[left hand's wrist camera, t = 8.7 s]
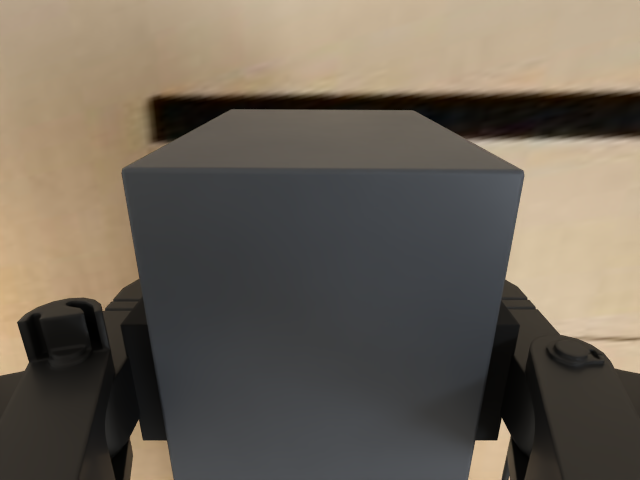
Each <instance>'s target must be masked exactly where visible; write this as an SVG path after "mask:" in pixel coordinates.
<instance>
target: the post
mask: <svg viewBox="0 0 640 480" xmlns="http://www.w3.org/2000/svg"><path fill="white" fill-rule="evenodd" d="M122 178H123V184H124V190H125V196H126V202H127V208H128V214H129V219H130V225H131V231H132V237H133V243H134V249H135V255H136V261H137V266H138V272H139V278H140V284H141V290H142V296H143V302H144V308H145V313H146V319H147V325H148V331H149V337H150V343H151V349H152V354H153V360H154V366H155V372H156V378H157V384H158V390H159V396H160V401H161V407H162V413H163V419H164V425H165V431H166V437H167V442H168V448H169V454H170V460H171V466H172V472H173V478H174V480H468V476H469V471H470V465H471V460H472V455H473V449H474V444H475V439H476V433H477V428H478V422H479V417H480V412H481V406H482V401H483V395H484V390H485V385H486V379H487V374H488V369H489V363H490V358H491V352H492V347H493V342H494V336H495V331H496V325H497V320H498V315H499V309H500V304H501V299H502V293H503V288H504V282H505V277H506V272H507V266H508V261H509V255H510V250H511V245H512V239H513V234H514V229H515V223H516V218H517V212H518V207H519V202H520V196H521V191H522V185H523V180H524V171H523V170H521V169H519V168H518V167H516V166H514V165H512V164H510V163H508V162H507V161H505V160H503V159H501V158H499V157H497V156H496V155H494V154H492V153H490V152H488V151H487V150H485V149H483V148H481V147H479V146H477V145H476V144H474V143H472V142H470V141H468V140H466V139H465V138H463V137H461V136H459V135H457V134H455V133H454V132H452V131H450V130H448V129H446V128H444V127H443V126H441V125H439V124H437V123H435V122H433V121H432V120H430V119H428V118H426V117H424V116H422V115H421V114H419V113H417V112H415V111H413V110H244V109H232V110H229V111H228V112H226V113H224V114H222V115H220V116H218V117H217V118H215V119H213V120H211V121H209V122H207V123H205V124H204V125H202V126H200V127H198V128H196V129H194V130H193V131H191V132H189V133H187V134H185V135H183V136H182V137H180V138H178V139H176V140H174V141H172V142H170V143H169V144H167V145H165V146H163V147H161V148H159V149H158V150H156V151H154V152H152V153H150V154H148V155H146V156H145V157H143V158H141V159H139V160H137V161H135V162H134V163H132V164H130V165H128V166H126V167H124V168H123V169H122Z"/></svg>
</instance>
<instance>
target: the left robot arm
mask: <svg viewBox="0 0 640 480" xmlns="http://www.w3.org/2000/svg"><path fill="white" fill-rule="evenodd" d="M17 323H18V327H19V330H20V333H21V337H22V340H23V343H24V347H25V350H26V353H27V357H28V360H29V364H28V366H27V368H26V370H25V371H22V372H18V373H12V374H7V375H2V376H0V480H130V476H131V468H132V459H133V453H132V447H131V442H130V435H131V433H132V431H133V430H134V428H135V426H136V424H137V422H138V420H139V422H140V427H141V432H142V437H143V440H167V437H166V431H165V425H164V419H163V413H162V407H161V401H160V396H159V390H158V384H157V378H156V372H155V366H154V360H153V354H152V349H151V343H150V337H149V331H148V325H147V319H146V313H145V308H144V302H143V296H142V290H141V284H140V279H138V280H136V281H135V282H133V283H131V284H130V285H128V286H126V287H124V288H123V289H122V290H121V291H120V292H119V294H118V295H117V296H116V297H115V298H114V299H113V302H111V303H110V304H109V305H108V306H107V307H106V308H105V311H102V306H101V304H100V303H99V302H97V301H96V300H93V299H88V298H68V299H63V300H59V301H54V302H51V303H48V304H45V305H42V306H40V307H37V308H35V309H34V310H32V311H30V312H28V313H27V314H25V315H24V316H23V317H22V318H21V319H20V320H19V321H18V322H17ZM501 419H503V421H504V423H505V425H506V426H507V428H508V430H509V432H510V434H511V437H510V442H509V447H508V451H507V456H506V461H505V465H504V470H503V475H502V480H508V479H509V476H510V480H640V374H638V373H633V372H628V371H623V370H618V369H614V367H613V365H612V363H611V361H610V360H609V359H608V358H607V356H606V355H605V354H604V353H603V352H601V351H600V350H598V349H597V348H595V347H594V346H592V345H591V344H588V343H586V342H584V341H581V340H579V339H576V338H572V337H568V336H563V335H560V334H559V333H558V332H557V331H556V330H555V328H554V327H553V326H552V325H551V324H550V323H549V322H548V321H547V319H546V318H545V317H544V316H543V315H542V314H541V313H540V312H539V310H538V309H536V307H535V306H534V305H533V304H532V302H531V301H530V300H527V297H526V296H525V295H524V293H523V292H522V291H521V290H520V289H519V288H518V287H517V286H515V285H514V284H512V283H510V282H508V281H507V280H505V282H504V288H503V293H502V299H501V304H500V309H499V315H498V320H497V325H496V331H495V336H494V342H493V347H492V352H491V358H490V363H489V369H488V374H487V379H486V385H485V390H484V395H483V401H482V406H481V412H480V417H479V422H478V428H477V433H476V439H475V440H497V439H498V434H499V429H500V424H501Z"/></svg>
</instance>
